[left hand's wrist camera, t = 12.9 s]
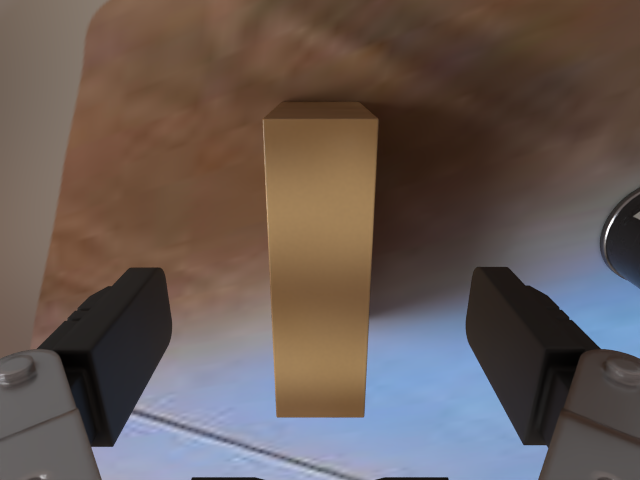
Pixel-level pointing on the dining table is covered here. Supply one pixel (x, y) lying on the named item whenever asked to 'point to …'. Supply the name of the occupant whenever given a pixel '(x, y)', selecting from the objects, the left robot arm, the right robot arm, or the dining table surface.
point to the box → (320, 253)
